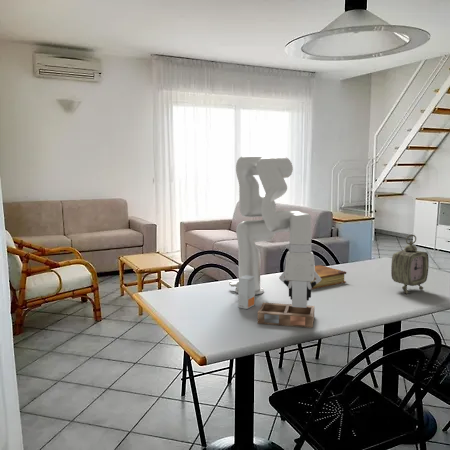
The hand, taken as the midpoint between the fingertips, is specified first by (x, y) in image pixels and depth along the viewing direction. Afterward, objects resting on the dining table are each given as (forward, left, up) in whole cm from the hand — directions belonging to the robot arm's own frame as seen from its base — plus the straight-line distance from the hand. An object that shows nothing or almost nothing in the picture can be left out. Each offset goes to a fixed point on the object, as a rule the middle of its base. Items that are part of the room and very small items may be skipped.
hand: (299, 298), depth 156 cm
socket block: (-5, 0, -8) cm, 10 cm away
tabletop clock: (+43, +50, -9) cm, 67 cm away
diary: (+2, +57, -9) cm, 58 cm away
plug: (0, 0, -2) cm, 2 cm away
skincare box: (-22, +12, -9) cm, 26 cm away
